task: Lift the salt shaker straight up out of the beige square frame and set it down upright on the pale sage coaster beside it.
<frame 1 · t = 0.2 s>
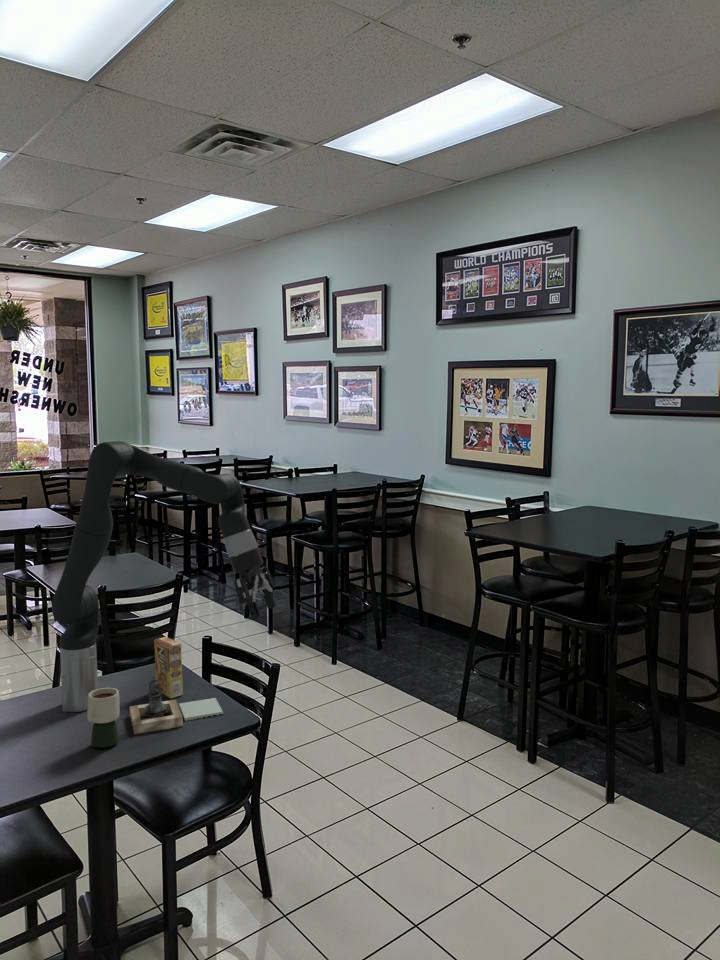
hand: (264, 612, 175), 31 cm above the table, tool tilted 20°, fingers open, 8 cm apart
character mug: (105, 745, 172), on the table
candy box: (169, 693, 204), on the table
coaster: (200, 710, 192), on the table
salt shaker: (155, 721, 185), resting in beige square frame
beige square frame: (155, 720, 185), on the table
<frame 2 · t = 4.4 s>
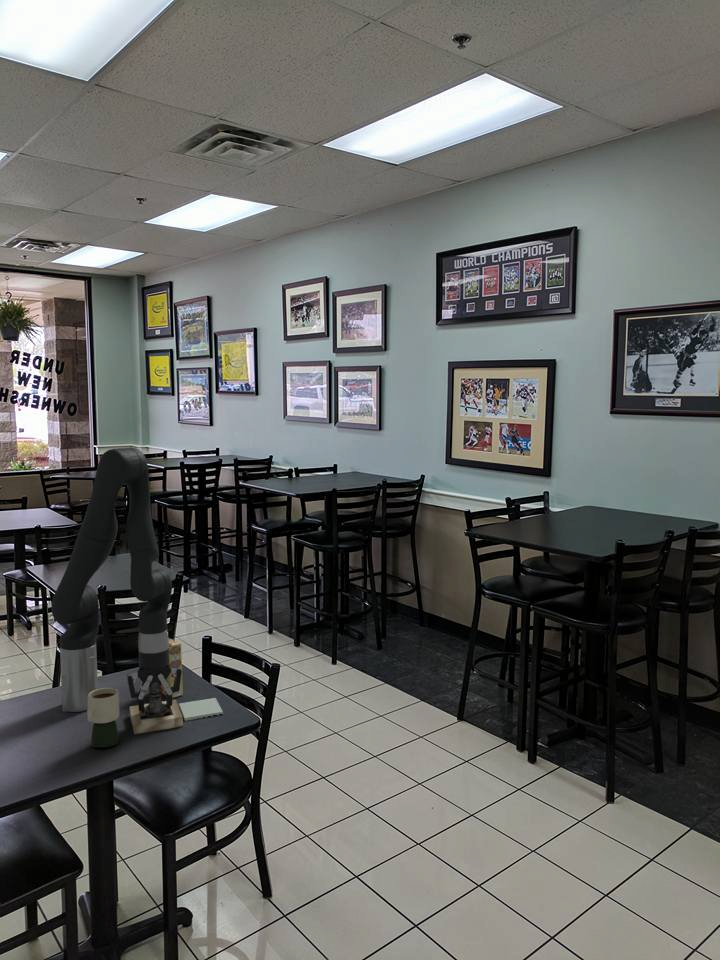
hand: (155, 709, 185), 3 cm above the table, tool pointing down, fingers closed on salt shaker, 6 cm apart
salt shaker: (156, 721, 185), resting in beige square frame, touching gripper
everything else where it was.
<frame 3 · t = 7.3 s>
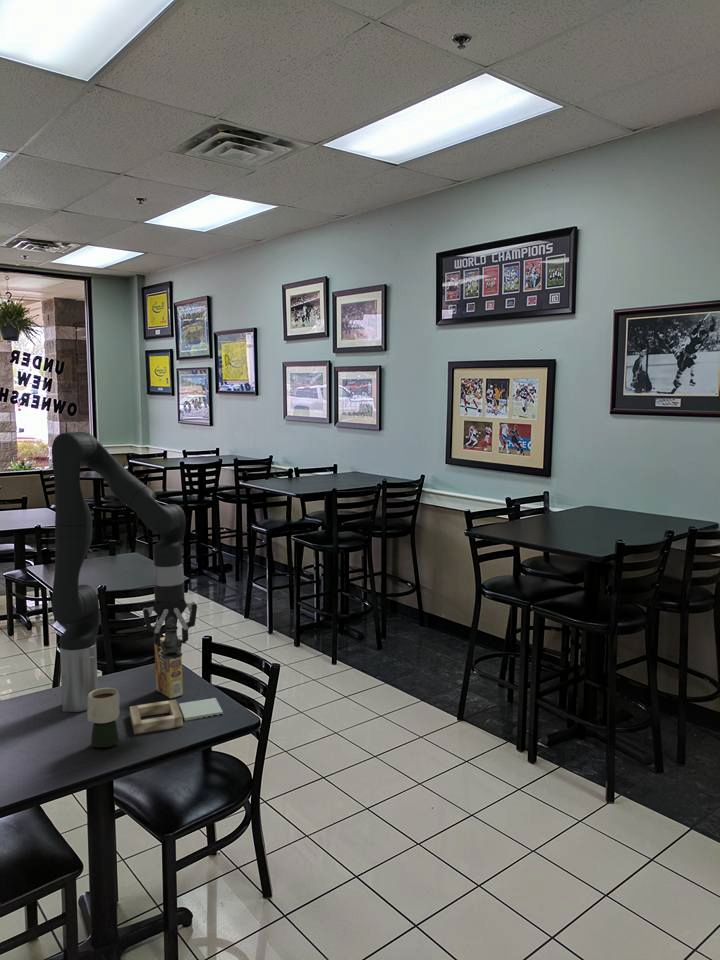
hand: (171, 644, 185), 20 cm above the table, tool pointing down, fingers closed on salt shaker, 6 cm apart
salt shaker: (171, 656, 186), point 17 cm above the table, touching gripper
everything else where it was.
when the fingers open (5 cm above the table, at t = 10.2 s): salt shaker drops 1 cm, resting on coaster.
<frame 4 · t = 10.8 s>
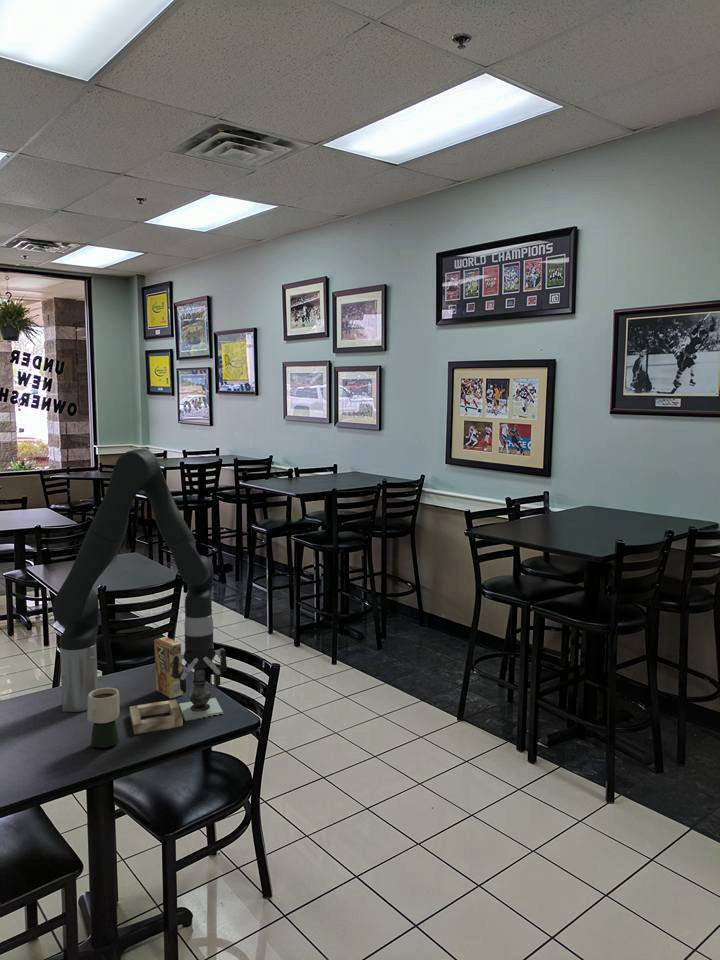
hand: (200, 689, 191), 6 cm above the table, tool pointing down, fingers open, 8 cm apart
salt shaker: (200, 708, 192), point 1 cm above the table, touching coaster
everything else where it was.
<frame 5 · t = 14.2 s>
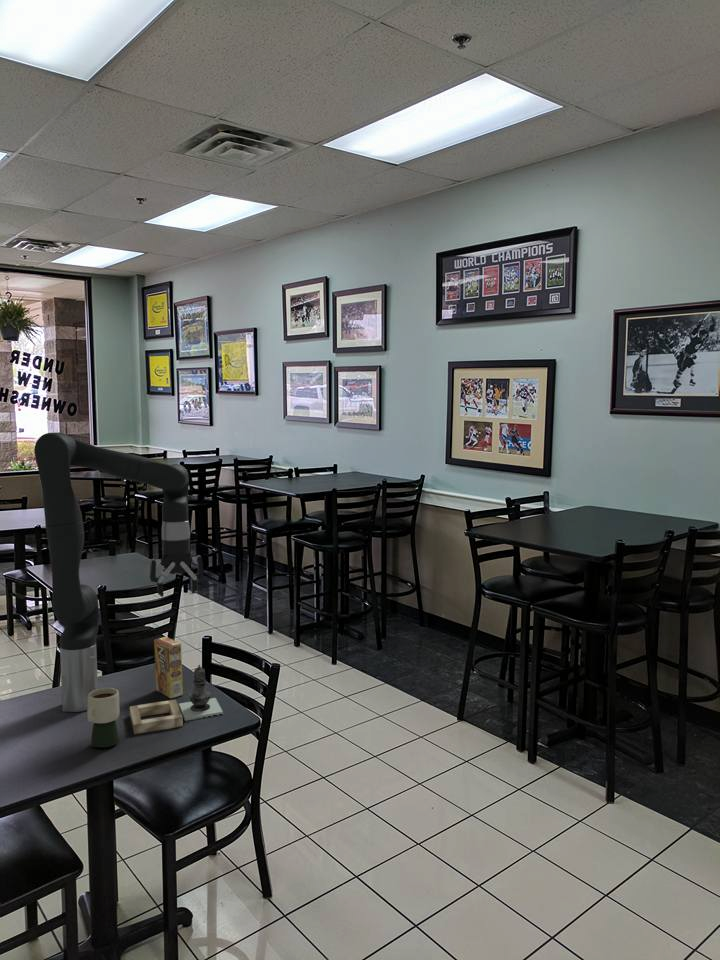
hand: (177, 594, 196), 30 cm above the table, tool pointing down, fingers open, 8 cm apart
nothing on the table moved.
at the end: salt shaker inside the target area on the coaster (0.1 cm from its centre), point 0.6 cm above the coaster's base; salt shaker tilted 0°; the gripper is holding nothing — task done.
